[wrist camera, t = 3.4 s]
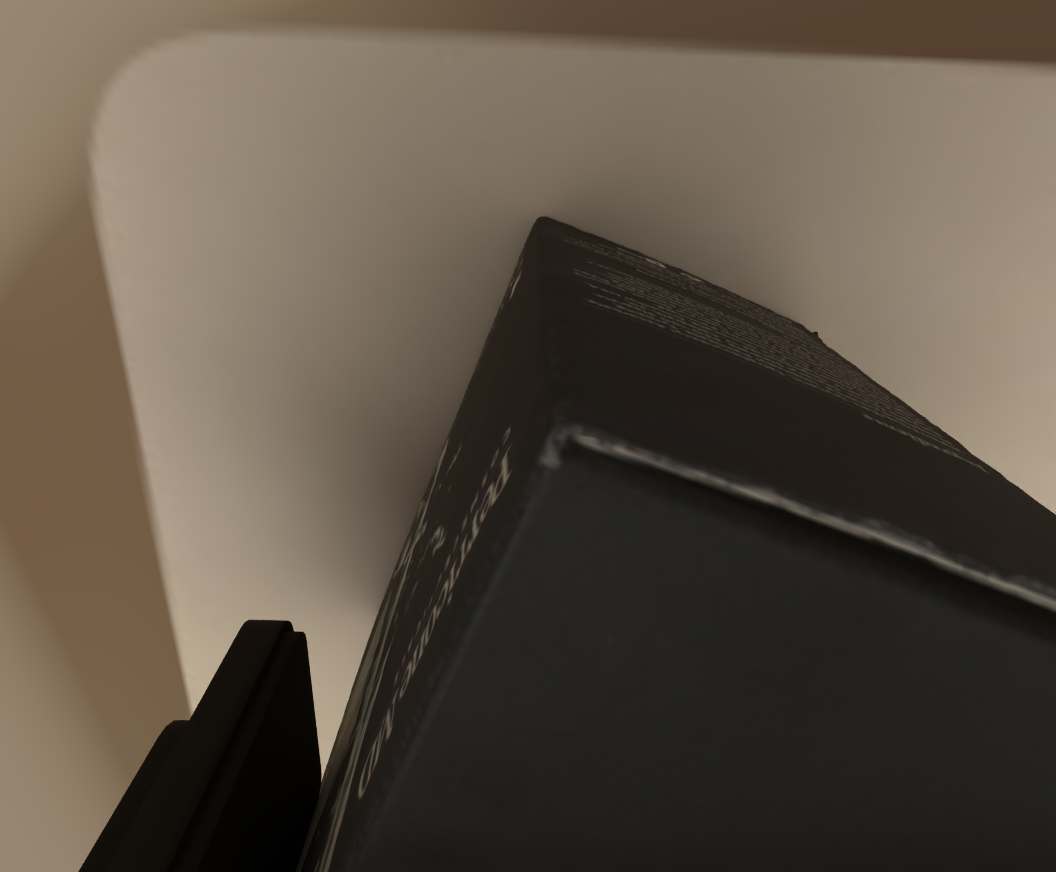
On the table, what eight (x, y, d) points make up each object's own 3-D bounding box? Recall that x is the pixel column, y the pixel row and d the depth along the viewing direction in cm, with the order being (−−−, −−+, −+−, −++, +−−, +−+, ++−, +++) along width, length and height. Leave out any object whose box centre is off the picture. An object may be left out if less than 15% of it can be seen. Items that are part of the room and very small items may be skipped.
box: (523, 200, 13) (548, 398, 4) (821, 327, 14) (1429, 731, 5) (360, 621, 17) (169, 1243, 8) (603, 695, 18) (702, 1319, 9)
